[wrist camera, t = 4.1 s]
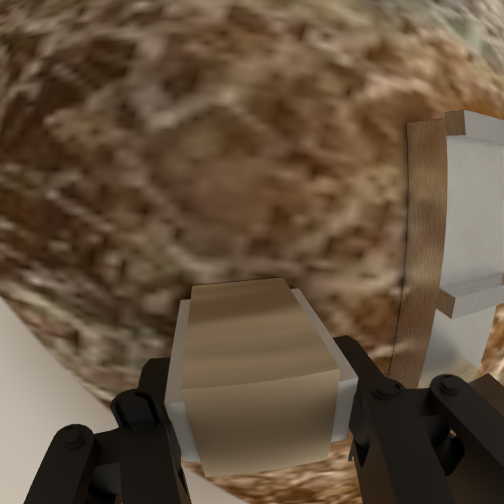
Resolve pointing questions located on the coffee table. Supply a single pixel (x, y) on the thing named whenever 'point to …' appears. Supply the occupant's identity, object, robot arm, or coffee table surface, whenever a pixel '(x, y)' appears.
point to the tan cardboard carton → (256, 379)
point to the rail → (452, 252)
